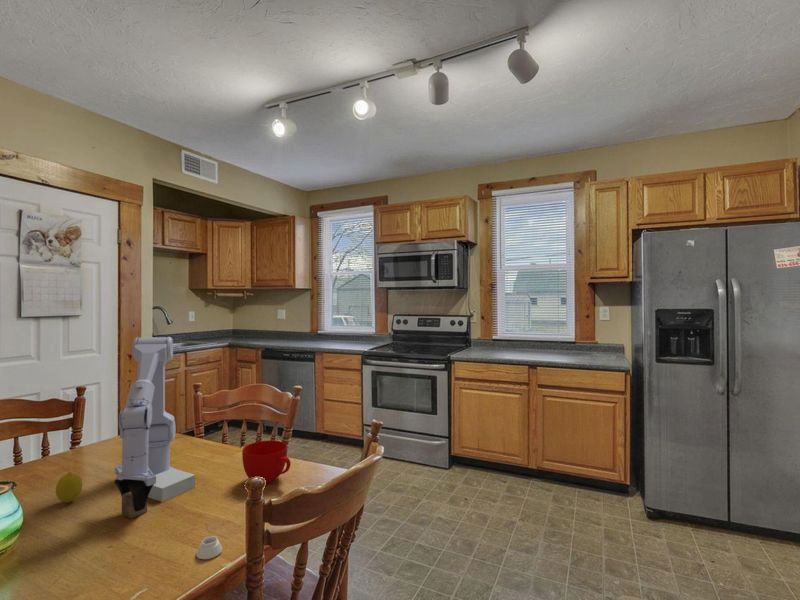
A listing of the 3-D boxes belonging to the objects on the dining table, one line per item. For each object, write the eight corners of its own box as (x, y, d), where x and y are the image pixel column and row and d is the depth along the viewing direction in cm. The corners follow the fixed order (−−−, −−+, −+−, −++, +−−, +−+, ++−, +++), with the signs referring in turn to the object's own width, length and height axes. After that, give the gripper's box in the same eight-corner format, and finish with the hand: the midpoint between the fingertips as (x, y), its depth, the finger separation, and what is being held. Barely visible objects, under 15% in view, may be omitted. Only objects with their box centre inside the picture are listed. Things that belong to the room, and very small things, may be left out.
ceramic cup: (271, 498, 114) (271, 461, 114) (232, 483, 123) (232, 449, 123) (305, 481, 125) (305, 448, 125) (267, 468, 134) (267, 437, 134)
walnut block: (121, 514, 104) (121, 494, 104) (137, 507, 107) (138, 488, 107) (130, 518, 102) (131, 498, 102) (147, 511, 105) (147, 491, 105)
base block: (139, 495, 115) (139, 480, 115) (172, 481, 124) (172, 468, 124) (162, 503, 111) (162, 488, 111) (195, 488, 120) (195, 474, 120)
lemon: (87, 499, 112) (87, 470, 112) (64, 509, 106) (65, 478, 106) (73, 496, 113) (73, 467, 113) (50, 505, 108) (50, 475, 108)
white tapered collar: (212, 544, 92) (191, 556, 88) (212, 531, 92) (191, 542, 88) (227, 551, 89) (206, 564, 85) (227, 537, 89) (206, 549, 85)
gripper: (102, 453, 104) (101, 507, 104) (135, 464, 98) (134, 522, 98) (131, 445, 111) (130, 495, 111) (164, 455, 104) (163, 509, 104)
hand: (134, 507), depth 105 cm, fingers closed on walnut block, 4 cm apart
